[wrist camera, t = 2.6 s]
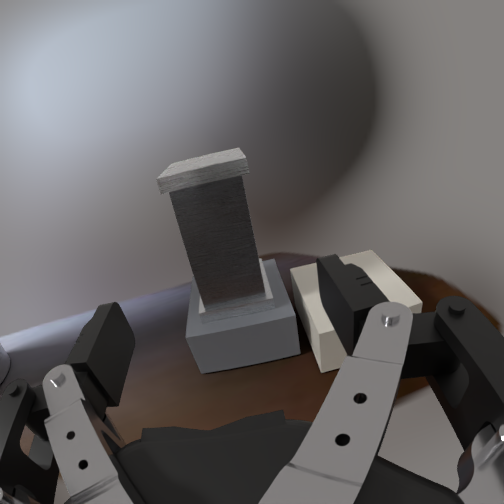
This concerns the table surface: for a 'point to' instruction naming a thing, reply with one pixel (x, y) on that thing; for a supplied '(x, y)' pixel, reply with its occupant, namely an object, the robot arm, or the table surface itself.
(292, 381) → the table surface
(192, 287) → the stand
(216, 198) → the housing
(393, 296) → the stand
